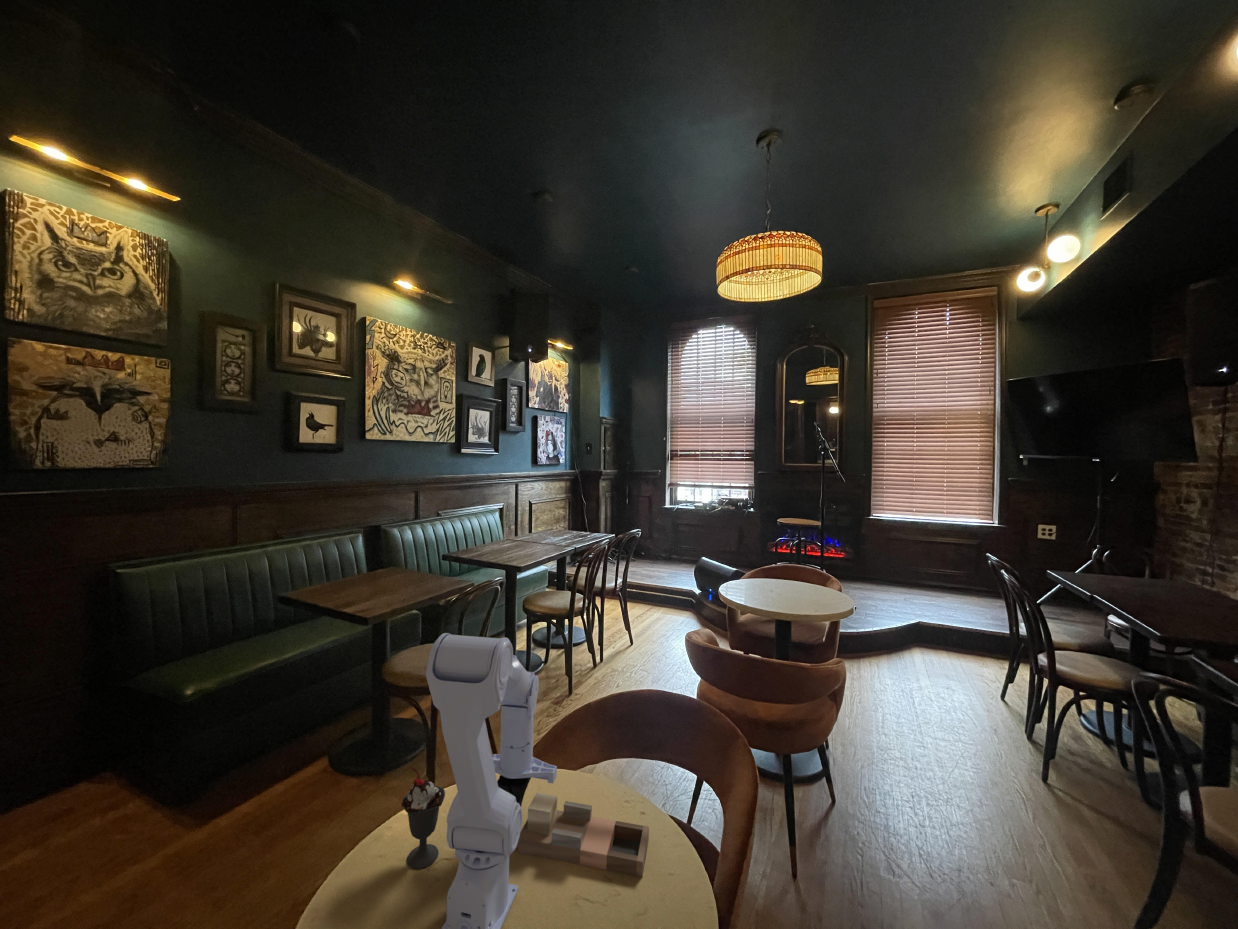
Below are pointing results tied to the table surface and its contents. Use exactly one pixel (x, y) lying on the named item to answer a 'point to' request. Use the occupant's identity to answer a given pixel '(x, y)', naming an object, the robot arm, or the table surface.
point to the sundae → (423, 819)
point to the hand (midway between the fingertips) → (514, 813)
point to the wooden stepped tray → (589, 841)
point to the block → (542, 813)
